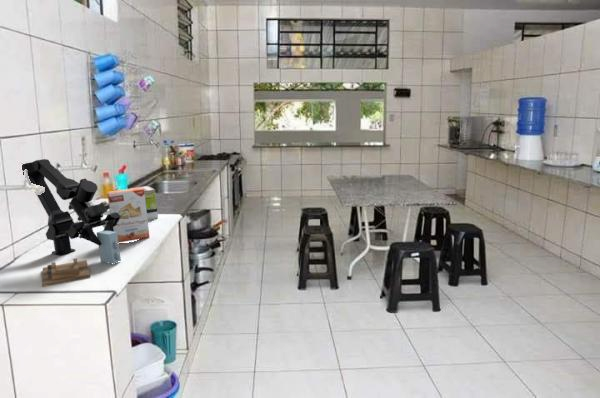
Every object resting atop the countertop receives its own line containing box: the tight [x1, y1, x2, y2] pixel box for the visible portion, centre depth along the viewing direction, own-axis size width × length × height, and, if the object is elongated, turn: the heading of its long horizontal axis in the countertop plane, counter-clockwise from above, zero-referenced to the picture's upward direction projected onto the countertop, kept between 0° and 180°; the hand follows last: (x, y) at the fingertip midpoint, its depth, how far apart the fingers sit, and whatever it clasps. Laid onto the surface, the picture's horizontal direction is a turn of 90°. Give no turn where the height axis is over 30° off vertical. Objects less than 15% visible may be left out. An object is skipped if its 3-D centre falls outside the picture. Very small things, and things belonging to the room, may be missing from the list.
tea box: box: [128, 185, 159, 221], centre depth 238 cm, size 15×10×15 cm
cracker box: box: [106, 187, 150, 244], centre depth 198 cm, size 14×6×21 cm, turn 118°
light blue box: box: [96, 229, 122, 265], centre depth 170 cm, size 8×3×11 cm, turn 58°
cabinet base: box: [41, 258, 91, 288], centre depth 162 cm, size 18×14×3 cm
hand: (108, 242), depth 171 cm, fingers open, 6 cm apart
